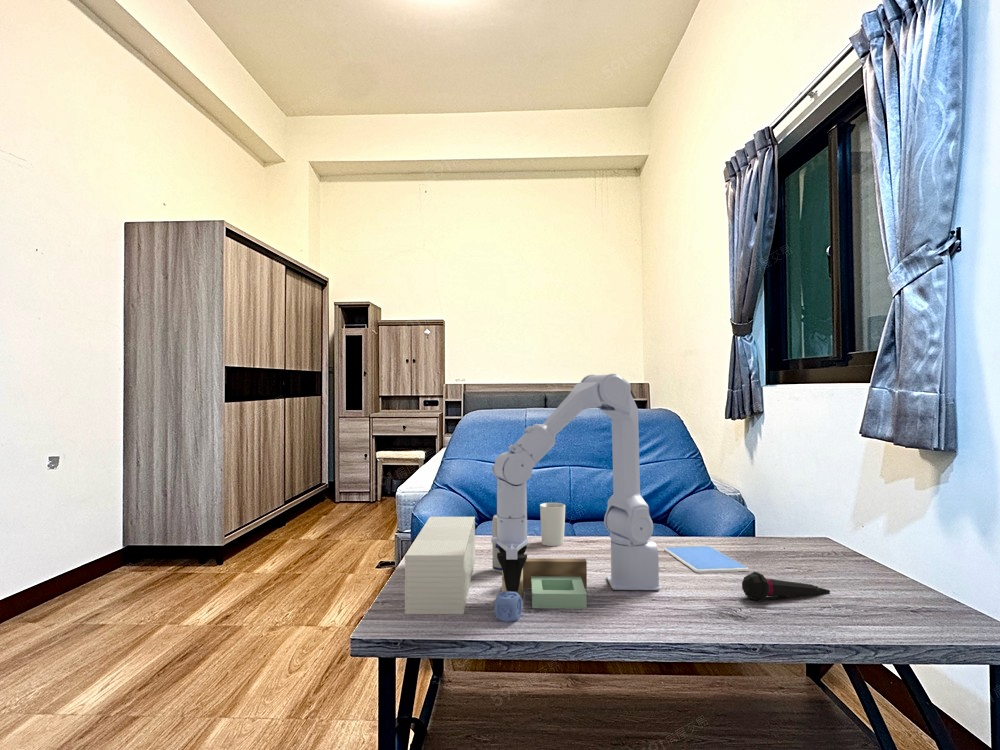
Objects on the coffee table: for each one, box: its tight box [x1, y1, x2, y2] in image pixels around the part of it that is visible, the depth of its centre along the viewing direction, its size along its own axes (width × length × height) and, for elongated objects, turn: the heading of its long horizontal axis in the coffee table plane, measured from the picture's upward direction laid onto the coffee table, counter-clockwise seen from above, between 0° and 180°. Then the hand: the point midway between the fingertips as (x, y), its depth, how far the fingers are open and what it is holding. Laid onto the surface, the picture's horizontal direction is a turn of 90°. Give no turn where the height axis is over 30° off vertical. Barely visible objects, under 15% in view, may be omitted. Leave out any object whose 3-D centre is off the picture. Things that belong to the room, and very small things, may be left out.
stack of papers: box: [404, 516, 476, 615], centre depth 121 cm, size 32×11×11 cm, turn 179°
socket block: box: [531, 576, 588, 609], centre depth 112 cm, size 10×10×3 cm
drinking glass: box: [539, 502, 566, 547], centre depth 153 cm, size 7×7×10 cm
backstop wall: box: [523, 557, 588, 590], centre depth 119 cm, size 16×2×6 cm, turn 88°
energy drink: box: [491, 514, 502, 574], centre depth 130 cm, size 5×5×12 cm
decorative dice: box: [493, 591, 523, 623], centre depth 103 cm, size 4×4×4 cm
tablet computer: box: [663, 545, 750, 574], centre depth 137 cm, size 19×13×1 cm, turn 6°
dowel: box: [501, 569, 524, 599], centre depth 111 cm, size 4×4×7 cm
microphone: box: [741, 571, 831, 602], centre depth 113 cm, size 5×5×19 cm
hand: (512, 586), depth 111 cm, fingers closed on dowel, 4 cm apart
